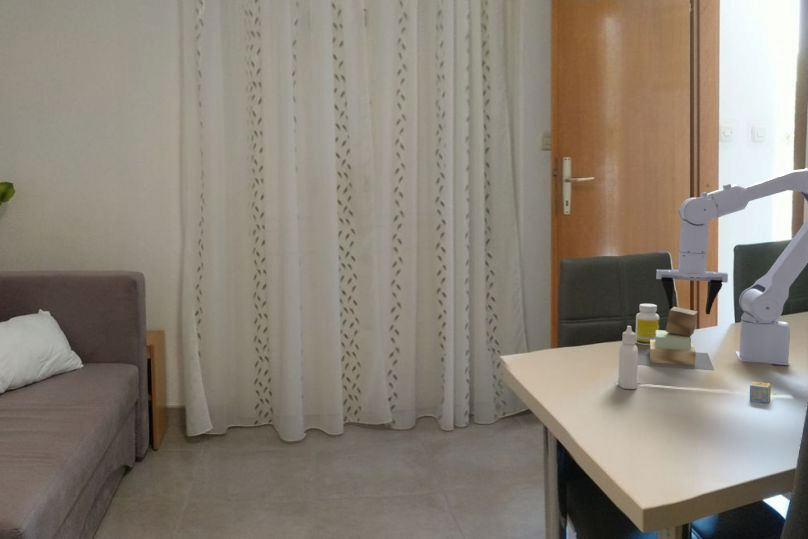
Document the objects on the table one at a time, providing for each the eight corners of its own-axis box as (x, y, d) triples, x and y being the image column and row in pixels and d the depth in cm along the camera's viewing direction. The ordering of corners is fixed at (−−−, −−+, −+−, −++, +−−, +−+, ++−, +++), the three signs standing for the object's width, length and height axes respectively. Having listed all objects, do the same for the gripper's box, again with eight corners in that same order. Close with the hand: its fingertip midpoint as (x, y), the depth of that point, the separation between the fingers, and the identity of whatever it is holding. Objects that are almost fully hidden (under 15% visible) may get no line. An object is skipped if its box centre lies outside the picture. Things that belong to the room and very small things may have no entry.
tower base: (691, 354, 150) (692, 341, 149) (695, 365, 141) (695, 351, 141) (649, 352, 153) (650, 339, 152) (650, 362, 144) (650, 349, 144)
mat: (707, 355, 151) (707, 353, 151) (714, 372, 138) (714, 370, 138) (633, 350, 156) (633, 348, 156) (633, 366, 143) (633, 364, 143)
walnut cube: (693, 333, 147) (697, 311, 147) (689, 337, 143) (693, 314, 142) (670, 327, 150) (674, 306, 149) (665, 331, 146) (669, 309, 145)
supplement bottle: (661, 346, 159) (663, 306, 158) (639, 347, 159) (640, 307, 158) (653, 341, 164) (655, 302, 163) (632, 341, 164) (633, 303, 163)
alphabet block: (749, 401, 121) (749, 384, 120) (751, 396, 123) (752, 380, 123) (768, 404, 119) (768, 387, 118) (770, 399, 121) (771, 383, 121)
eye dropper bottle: (643, 384, 131) (645, 325, 129) (633, 391, 127) (635, 330, 125) (622, 380, 134) (623, 322, 132) (611, 387, 130) (612, 327, 128)
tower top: (688, 342, 149) (688, 331, 148) (690, 350, 142) (691, 339, 142) (655, 340, 151) (655, 330, 151) (655, 348, 144) (656, 337, 144)
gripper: (658, 252, 145) (654, 313, 147) (731, 255, 140) (726, 318, 142) (657, 249, 151) (654, 307, 153) (727, 251, 147) (722, 311, 149)
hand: (688, 312), depth 148 cm, fingers open, 7 cm apart
